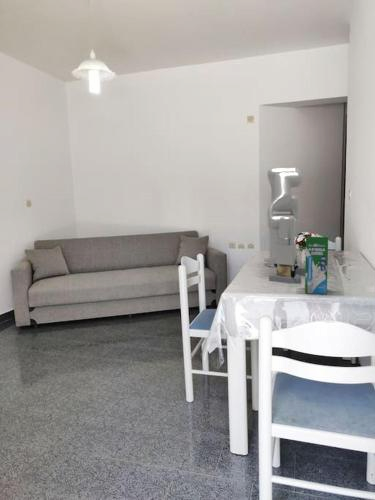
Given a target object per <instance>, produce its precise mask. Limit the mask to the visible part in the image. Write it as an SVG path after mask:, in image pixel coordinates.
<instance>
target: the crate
mask: <svg viewBox="0 0 375 500" xmlns="http://www.w3.org/2000/svg"><path fill="white" fill-rule="evenodd" d="M291 271H292V268H291V266H290V265H278V275H277V276H281V277H290V278H291ZM293 279H294V278H293Z"/></svg>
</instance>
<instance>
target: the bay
mask: <svg viewBox="0 0 375 500" xmlns="http://www.w3.org/2000/svg"><path fill="white" fill-rule="evenodd" d="M303 279H305V267H298V268H297V269H296V270H295V276H294V279H293V278H290V277H281V276H278V275H271V274H270V275H268V281H269V282H276V283H286V284H290V285H291V284H301V283H302V280H303Z"/></svg>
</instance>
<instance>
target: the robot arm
mask: <svg viewBox="0 0 375 500" xmlns="http://www.w3.org/2000/svg"><path fill="white" fill-rule="evenodd" d="M267 180H268V182H269V185H270V190H271V192H270V193H271V194H270V196H271V197H270V204H269V206H268V208H267V228H268V230H269V257H264V258H263V262H266V266H268V267H270V268H276V271H277V272H276V273H277V274H276V276H278V265H290V266H291V268H292V271H291V278H294V276H295V270H296V269H297V268H300V267H301V266H302V264H303V263H302V261H301V260H300V259H299V258H298V251H297V245H296V244H295V241H296V240H295V239H296V238H295V237H296V236H295V235H296V234H295V233H296V231H295V230H296V229H297V228H298V226H299V218H300V217H299V216H300V215H299V212H300V201H299V197H298V196H297V195H293V194H292V188H300V187H301V186H302V185H303V175H302V172H301V170H300V169H299V167H296V166H290V167H285V166H283V167H282V166H281V167H273V168H272V167H271V168H269V169H268V170H267ZM273 212H276V213H273ZM281 212H283V213H281ZM284 212H288V213H284Z"/></svg>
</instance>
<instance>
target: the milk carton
mask: <svg viewBox="0 0 375 500" xmlns="http://www.w3.org/2000/svg"><path fill="white" fill-rule="evenodd" d="M328 259H329V236H322V235H312V236H305V267H304V268H305V277H304V282H305V283H304V294H313V295H314V294H315V295H327V294H328V268H329V267H328V263H329V262H328V261H329V260H328Z"/></svg>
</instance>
